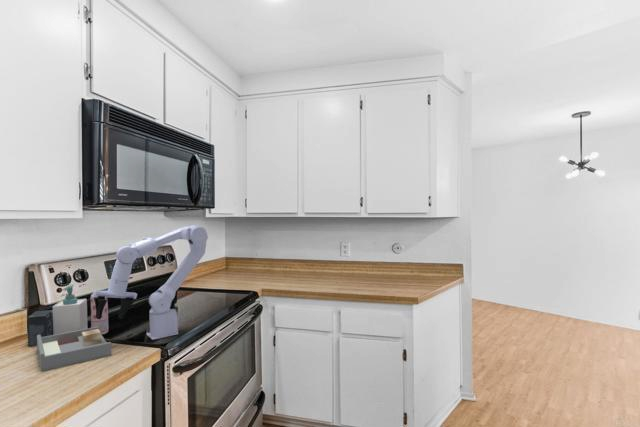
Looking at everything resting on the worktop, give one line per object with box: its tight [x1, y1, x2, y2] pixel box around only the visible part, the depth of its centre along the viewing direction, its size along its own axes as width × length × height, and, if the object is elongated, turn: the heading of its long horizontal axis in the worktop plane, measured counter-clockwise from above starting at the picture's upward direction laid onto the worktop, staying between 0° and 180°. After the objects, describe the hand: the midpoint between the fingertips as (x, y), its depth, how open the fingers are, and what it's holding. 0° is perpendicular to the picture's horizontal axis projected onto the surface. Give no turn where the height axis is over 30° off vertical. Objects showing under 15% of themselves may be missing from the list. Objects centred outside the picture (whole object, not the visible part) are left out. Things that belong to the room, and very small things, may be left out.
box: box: [27, 309, 53, 348], centre depth 136 cm, size 8×6×11 cm
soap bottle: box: [52, 284, 88, 335], centre depth 141 cm, size 9×9×19 cm
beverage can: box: [90, 293, 109, 336], centre depth 145 cm, size 6×6×15 cm
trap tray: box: [36, 326, 112, 372], centre depth 126 cm, size 18×22×5 cm
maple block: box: [82, 329, 101, 346], centre depth 129 cm, size 5×5×4 cm
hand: (109, 318), depth 132 cm, fingers open, 7 cm apart
